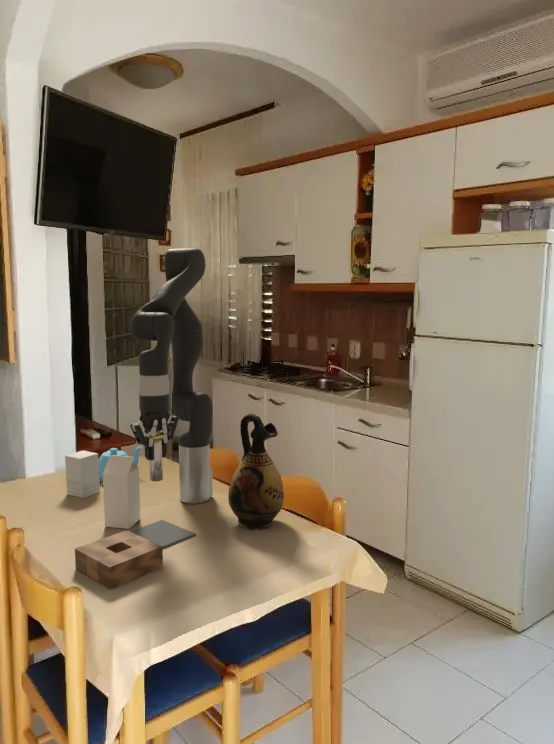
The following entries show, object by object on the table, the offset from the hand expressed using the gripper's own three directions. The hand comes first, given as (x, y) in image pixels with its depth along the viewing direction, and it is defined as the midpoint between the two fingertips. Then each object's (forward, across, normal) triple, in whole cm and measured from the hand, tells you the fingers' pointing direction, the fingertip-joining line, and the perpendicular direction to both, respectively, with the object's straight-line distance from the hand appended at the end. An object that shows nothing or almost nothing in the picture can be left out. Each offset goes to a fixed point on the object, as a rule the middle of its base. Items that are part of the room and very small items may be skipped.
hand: (155, 458), depth 153 cm
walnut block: (+21, +17, +8) cm, 28 cm away
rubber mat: (+21, 0, 0) cm, 21 cm away
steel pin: (+6, 0, 0) cm, 6 cm away
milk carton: (+21, +1, -14) cm, 25 cm away
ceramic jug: (+21, -24, +12) cm, 34 cm away
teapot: (+21, -20, -49) cm, 57 cm away
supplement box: (+21, -5, -44) cm, 49 cm away
